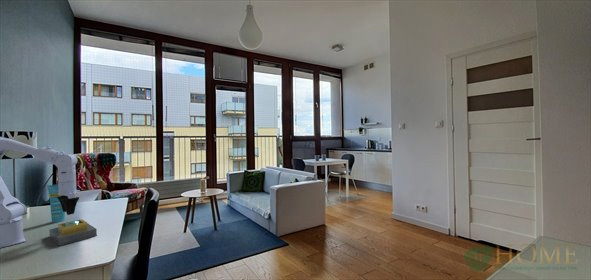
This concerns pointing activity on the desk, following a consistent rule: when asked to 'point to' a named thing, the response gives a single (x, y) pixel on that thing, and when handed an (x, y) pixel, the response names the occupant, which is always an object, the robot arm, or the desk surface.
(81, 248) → the desk surface
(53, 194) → the tube
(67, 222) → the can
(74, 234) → the grey and yellow block
